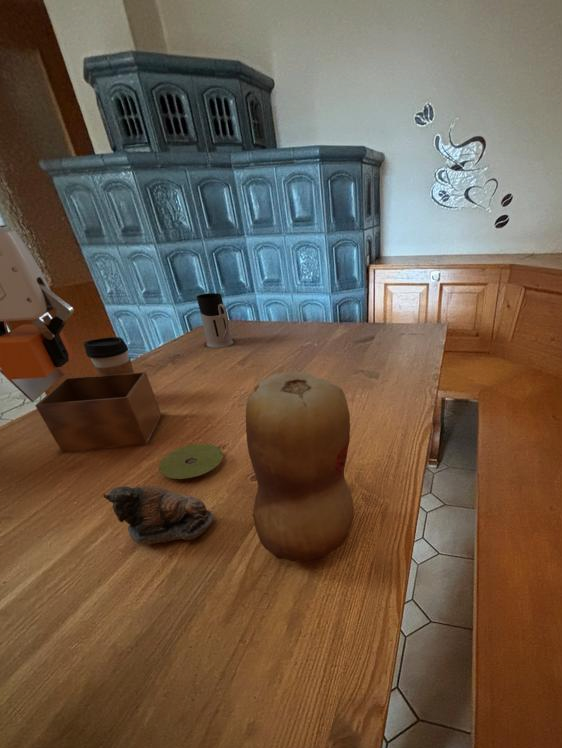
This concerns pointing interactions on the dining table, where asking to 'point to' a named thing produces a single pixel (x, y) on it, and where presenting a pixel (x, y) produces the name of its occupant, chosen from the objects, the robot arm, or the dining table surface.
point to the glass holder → (214, 320)
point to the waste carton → (101, 411)
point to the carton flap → (36, 384)
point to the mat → (190, 461)
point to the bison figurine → (159, 514)
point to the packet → (26, 353)
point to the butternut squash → (299, 465)
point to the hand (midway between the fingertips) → (41, 364)
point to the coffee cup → (109, 356)
